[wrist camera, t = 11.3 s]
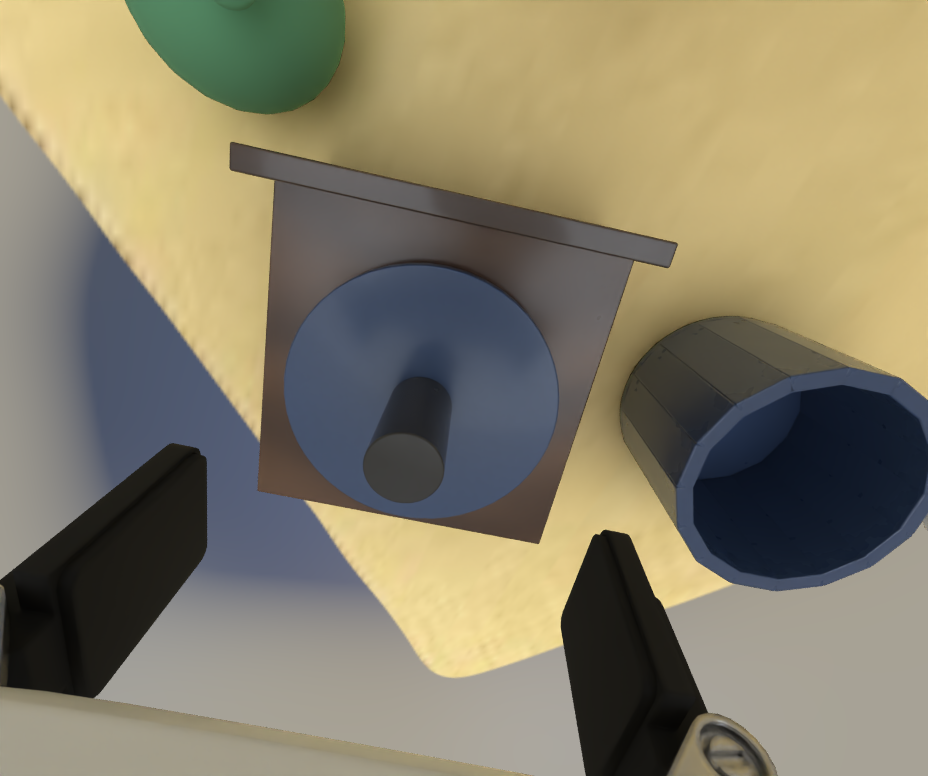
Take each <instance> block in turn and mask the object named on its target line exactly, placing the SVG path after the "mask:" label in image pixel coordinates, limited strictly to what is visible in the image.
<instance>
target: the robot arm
mask: <svg viewBox="0 0 928 776" xmlns="http://www.w3.org/2000/svg"><path fill="white" fill-rule="evenodd" d="M206 548H207V461H206V457H205V456H202V455H201V454H200V451H199V449H197V448H194V447H189V446H184V445H179V444H174V443H172V444H169V445H167V446H166V447H165V448H163V449H162V450H161V451H160V452H158V453H157V454H156V455H155V456H154V457H152V458H151V459H150V460H149V461H147V462H146V463H145V464H144V465H143V466H141V467H140V468H139V469H137V470H136V471H135V472H134V473H132V474H131V475H130V476H129V477H127V478H126V479H125V480H124V481H123V482H121V483H120V484H119V485H118V486H116V487H115V488H114V489H113V490H111V491H110V492H109V493H108V494H106V495H105V496H104V497H103V498H101V499H100V500H99V501H98V502H96V503H95V504H94V505H93V506H91V507H90V508H89V509H88V510H86V511H85V512H84V513H83V514H81V515H80V516H79V517H78V518H77V519H75V520H74V521H73V522H72V523H70V524H69V525H68V526H67V527H65V529H63V530H62V531H60V532H59V533H58V534H57V535H55V536H54V537H53V538H52V539H50V541H48V542H47V543H46V544H44V545H43V546H42V547H41V548H39V549H38V550H37V551H36V552H34V553H33V554H32V555H31V556H29V557H28V558H27V559H26V560H24V561H23V562H22V563H21V564H20V565H18V566H17V567H16V568H15V569H13V570H12V571H11V572H10V573H8V574H7V575H6V576H5V577H3V578H2V579H1V580H0V776H532V775H527V774H521V773H516V772H510V771H505V770H499V769H494V768H489V767H483V766H478V765H472V764H467V763H462V762H456V761H450V760H445V759H440V758H435V757H429V756H423V755H418V754H413V753H407V752H402V751H396V750H390V749H385V748H379V747H373V746H368V745H363V744H357V743H351V742H346V741H340V740H334V739H329V738H323V737H318V736H312V735H306V734H301V733H295V732H289V731H283V730H278V729H272V728H267V727H261V726H255V725H249V724H244V723H238V722H232V721H226V720H220V719H214V718H209V717H203V716H197V715H191V714H185V713H179V712H174V711H168V710H162V709H156V708H150V707H144V706H138V705H133V704H127V703H120V702H113V701H107V700H100V699H94V697H96V696H97V695H98V694H99V693H100V692H101V691H102V690H103V688H104V687H105V686H106V684H107V683H108V682H109V680H110V679H111V678H112V677H113V675H114V674H115V673H116V671H117V670H118V669H119V667H120V666H121V665H122V664H123V662H124V661H125V660H126V658H127V657H128V656H129V654H130V653H131V652H132V650H133V649H134V648H135V647H136V645H137V644H138V643H139V641H140V640H141V639H142V637H143V636H144V635H145V633H146V632H147V631H148V629H149V628H150V627H151V626H152V624H153V623H154V622H155V620H156V619H157V618H158V616H159V615H160V614H161V612H162V611H163V610H164V609H165V607H166V606H167V605H168V603H169V602H170V601H171V599H172V598H173V597H174V596H175V594H176V593H177V592H178V590H179V589H180V588H181V586H182V585H183V584H184V583H185V581H186V580H187V579H188V577H189V576H190V575H191V573H192V572H193V571H194V569H195V568H196V567H197V565H198V564H199V563H200V562H201V560H202V558H203V556H204V554H205V552H206ZM561 632H562V638H563V644H564V649H565V656H566V661H567V667H568V673H569V679H570V685H571V691H572V697H573V703H574V709H575V714H576V720H577V727H578V732H579V738H580V744H581V750H582V756H583V762H584V768H585V773H586V776H778V775H777V771H776V768H775V766H774V764H773V762H772V760H771V759H770V757H769V755H768V753H767V752H766V750H765V749H764V748H763V747H762V746H761V744H760V743H759V742H758V741H757V739H756V738H755V737H754V736H753V735H751V734H750V733H749V732H748V731H747V730H746V729H744V727H742V726H741V725H739V724H738V723H736V722H734V721H733V720H731V719H729V718H727V717H724V716H722V715H719V714H713V713H708V712H707V709H706V707H705V704H704V702H703V700H702V697H701V695H700V693H699V690H698V688H697V686H696V683H695V681H694V678H693V676H692V674H691V671H690V669H689V666H688V664H687V662H686V659H685V657H684V655H683V652H682V650H681V647H680V645H679V643H678V640H677V638H676V636H675V633H674V631H673V629H672V626H671V624H670V622H669V619H668V617H667V614H666V612H665V610H664V607H663V605H662V604H661V602H660V600H658V599H657V598H656V597H655V596H654V593H653V591H652V589H651V586H650V584H649V581H648V579H647V576H646V574H645V572H644V569H643V567H642V564H641V562H640V559H639V557H638V555H637V552H636V550H635V547H634V545H633V542H632V540H631V538H630V536H629V535H628V534H624V533H619V532H614V531H609V530H603V531H602V532H601V534H600V535H598V534H595V535H594V536H593V538H592V540H591V543H590V545H589V548H588V550H587V553H586V555H585V558H584V560H583V563H582V565H581V568H580V570H579V573H578V575H577V578H576V580H575V583H574V585H573V588H572V590H571V593H570V595H569V598H568V600H567V603H566V605H565V608H564V610H563V613H562V617H561Z"/></svg>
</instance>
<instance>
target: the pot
mask: <svg viewBox="0 0 928 776" xmlns="http://www.w3.org/2000/svg"><path fill="white" fill-rule="evenodd" d="M620 424H621V430H622V434H623V438H624V442H625V443H626V445H627V447H628V448H629V450H630V452H631V453H632V455H633V457H634V458H635V460H636V462H637V463H638V465H639V467H640V468H641V470H642V472H643V473H644V475H645V477H646V478H647V480H648V482H649V483H650V485H651V487H652V488H653V490H654V492H655V493H656V495H657V497H658V498H659V500H660V502H661V503H662V505H663V507H664V508H665V510H666V512H667V513H668V515H669V517H670V518H671V520H672V522H673V523H674V525H675V527H676V528H677V530H678V532H679V533H680V535H681V537H682V538H683V540H684V542H685V543H686V545H687V547H688V548H689V550H690V552H691V553H692V555H693V557H694V558H695V560H696V561H697V562H698V563H700V564H702V565H703V566H705V567H706V568H708V569H709V570H711V571H713V572H714V573H716V574H717V575H719V576H720V577H722V578H724V579H725V580H727V581H728V582H730V583H733V584H739V585H744V586H749V587H754V588H760V589H766V590H771V591H783V590H792V589H801V588H809V587H818V586H823V585H827V584H830V583H832V582H834V581H837V580H839V579H842V578H845V577H847V576H849V575H852V574H854V573H857V572H860V571H862V570H864V569H867V568H869V567H871V566H873V565H874V564H876V563H877V562H878V561H880V560H881V559H882V558H884V557H885V556H886V555H888V554H889V553H890V552H892V551H893V550H894V549H895V548H897V547H898V546H899V545H901V544H902V543H903V542H904V541H906V540H907V539H909V537H911V536H912V534H913V533H915V531H916V529H917V528H918V527H919V525H920V524H921V523H922V521H923V520H924V518H925V517H926V515H927V514H928V400H927V399H926V398H925V397H923V396H922V395H921V394H920V393H919V392H917V391H916V390H915V389H914V388H912V387H911V386H910V385H909V384H908V383H906V382H905V381H904V380H903V379H901V378H899V377H897V376H895V375H892V374H890V373H888V372H885V371H883V370H880V369H878V368H876V367H873V366H871V365H869V364H866V363H864V362H862V361H859V360H857V359H855V358H852V357H850V356H848V355H845V354H843V353H841V352H838V351H836V350H834V349H831V348H829V347H827V346H824V345H822V344H820V343H817V342H815V341H812V340H810V339H808V338H805V337H803V336H801V335H798V334H796V333H794V332H791V331H789V330H787V329H784V328H782V327H780V326H777V325H775V324H771V323H766V322H763V321H759V320H756V319H753V318H747V317H740V316H724V317H715V318H709V319H705V320H701V321H698V322H695V323H692V324H689V325H687V326H685V327H683V328H680V329H678V330H676V331H674V332H673V333H671V334H670V335H668V336H667V337H665V338H663V339H662V340H661V341H660V342H658V343H657V344H656V345H655V346H654V347H652V348H651V349H650V350H649V351H648V352H647V353H646V354H645V356H644V357H643V358H642V359H641V360H640V362H639V363H638V364H637V366H636V367H635V369H634V370H633V372H632V374H631V375H630V377H629V379H628V382H627V384H626V386H625V389H624V392H623V396H622V400H621V407H620Z"/></svg>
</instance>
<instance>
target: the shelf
mask: <svg viewBox="0 0 928 776" xmlns="http://www.w3.org/2000/svg"><path fill="white" fill-rule="evenodd" d="M230 170H231V171H235V172H240V173H244V174H249V175H253V176H257V177H262V178H266V179H271V180H275V183H274V201H273V219H272V237H271V255H270V273H269V291H268V310H267V328H266V346H265V364H264V382H263V400H262V418H261V436H260V455H259V456H260V457H259V473H258V491H261V492H267V493H272V494H277V495H282V496H288V497H293V498H298V499H303V500H308V501H314V502H319V503H324V504H330V505H335V506H340V507H345V508H351V509H356V510H361V511H367V512H372V513H377V514H382V515H388V516H393V517H398V518H404V519H409V520H414V521H420V522H425V523H430V524H435V525H441V526H446V527H451V528H457V529H462V530H467V531H472V532H478V533H483V534H488V535H494V536H499V537H504V538H509V539H515V540H520V541H525V542H531V543H536V544H539V542H540V539H541V536H542V533H543V530H544V527H545V524H546V522H547V519H548V516H549V513H550V510H551V507H552V504H553V501H554V498H555V495H556V492H557V489H558V486H559V483H560V480H561V477H562V474H563V471H564V468H565V465H566V462H567V459H568V456H569V453H570V450H571V447H572V444H573V441H574V438H575V435H576V432H577V429H578V426H579V423H580V420H581V417H582V414H583V411H584V408H585V405H586V402H587V399H588V396H589V393H590V390H591V387H592V384H593V381H594V378H595V375H596V373H597V370H598V367H599V364H600V361H601V358H602V355H603V352H604V349H605V346H606V343H607V340H608V337H609V334H610V331H611V328H612V325H613V322H614V319H615V316H616V313H617V310H618V307H619V304H620V301H621V298H622V295H623V292H624V289H625V286H626V283H627V280H628V277H629V274H630V271H631V268H632V265H633V262H634V261H638V262H642V263H647V264H651V265H655V266H660V267H664V268H669V267H670V265H671V262H672V259H673V257H674V254H675V251H676V248H677V246H678V244H677V243H676V242H671V241H667V240H663V239H658V238H654V237H649V236H645V235H641V234H636V233H632V232H627V231H623V230H619V229H614V228H610V227H605V226H601V225H597V224H592V223H588V222H583V221H579V220H574V219H570V218H566V217H561V216H557V215H552V214H548V213H544V212H539V211H535V210H530V209H526V208H522V207H517V206H513V205H508V204H504V203H500V202H495V201H491V200H486V199H482V198H477V197H473V196H469V195H464V194H460V193H455V192H451V191H447V190H442V189H438V188H433V187H429V186H425V185H420V184H416V183H411V182H407V181H403V180H398V179H394V178H389V177H385V176H380V175H376V174H372V173H367V172H363V171H358V170H354V169H350V168H345V167H341V166H336V165H332V164H328V163H323V162H319V161H314V160H310V159H306V158H301V157H297V156H292V155H288V154H283V153H279V152H275V151H270V150H266V149H261V148H257V147H253V146H248V145H244V144H239V143H235V142H231V143H230ZM403 263H432V264H439V265H445V266H450V267H454V268H457V269H461V270H464V271H467V272H470V273H472V274H474V275H476V276H479V277H481V278H483V279H485V280H487V281H489V282H490V283H492V284H494V285H495V286H497V287H499V288H500V289H502V290H503V291H504V292H505V293H507V294H508V295H509V296H510V297H512V298H513V299H514V300H515V301H516V302H517V303H518V304H519V305H520V306H521V307H522V308H523V309H524V310H525V311H526V312H527V313H528V314H529V316H530V317H531V318H532V320H533V321H534V323H535V324H536V325H537V327H538V328H539V330H540V332H541V334H542V335H543V337H544V339H545V341H546V343H547V345H548V347H549V349H550V352H551V355H552V358H553V361H554V364H555V367H556V373H557V378H558V383H559V408H558V417H557V421H556V425H555V430H554V433H553V436H552V438H551V441H550V443H549V446H548V448H547V450H546V451H545V453H544V455H543V457H542V458H541V460H540V462H539V463H538V464H537V466H536V467H535V468H534V470H533V471H532V472H531V474H530V475H529V476H528V477H527V478H526V479H525V480H524V481H523V482H522V483H521V484H520V485H519V486H517V487H516V488H515V489H513V490H512V491H511V492H510V493H508V494H507V495H506V496H504V497H502V498H501V499H499V500H497V501H496V502H494V503H492V504H490V505H487V506H485V507H483V508H481V509H478V510H475V511H472V512H469V513H466V514H462V515H457V516H452V517H446V518H434V519H426V518H410V517H403V516H397V515H393V514H389V513H385V512H382V511H379V510H376V509H374V508H371V507H368V506H366V505H364V504H362V503H360V502H358V501H356V500H354V499H352V498H351V497H349V496H348V495H346V494H344V493H343V492H341V491H340V490H338V489H337V488H336V487H335V486H334V485H332V484H331V483H330V482H329V481H327V480H326V479H325V478H324V477H323V476H322V475H321V474H320V473H319V472H318V471H317V469H316V468H315V467H314V466H313V465H312V463H311V462H310V461H309V459H308V458H307V457H306V455H305V454H304V452H303V450H302V449H301V447H300V445H299V444H298V442H297V440H296V437H295V435H294V433H293V430H292V428H291V426H290V422H289V418H288V415H287V411H286V405H285V398H284V373H285V367H286V360H287V357H288V353H289V350H290V347H291V344H292V342H293V339H294V337H295V335H296V333H297V331H298V329H299V327H300V326H301V324H302V323H303V321H304V320H305V318H306V317H307V315H308V314H309V313H310V312H311V311H312V309H313V308H314V307H315V306H316V305H317V304H318V303H319V302H320V301H321V300H322V299H323V298H324V297H326V296H327V295H328V294H329V293H330V292H332V291H333V290H334V289H335V288H337V287H339V286H340V285H342V284H344V283H345V282H347V281H349V280H350V279H352V278H354V277H356V276H358V275H361V274H363V273H365V272H368V271H370V270H373V269H377V268H381V267H384V266H388V265H395V264H403Z"/></svg>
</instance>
